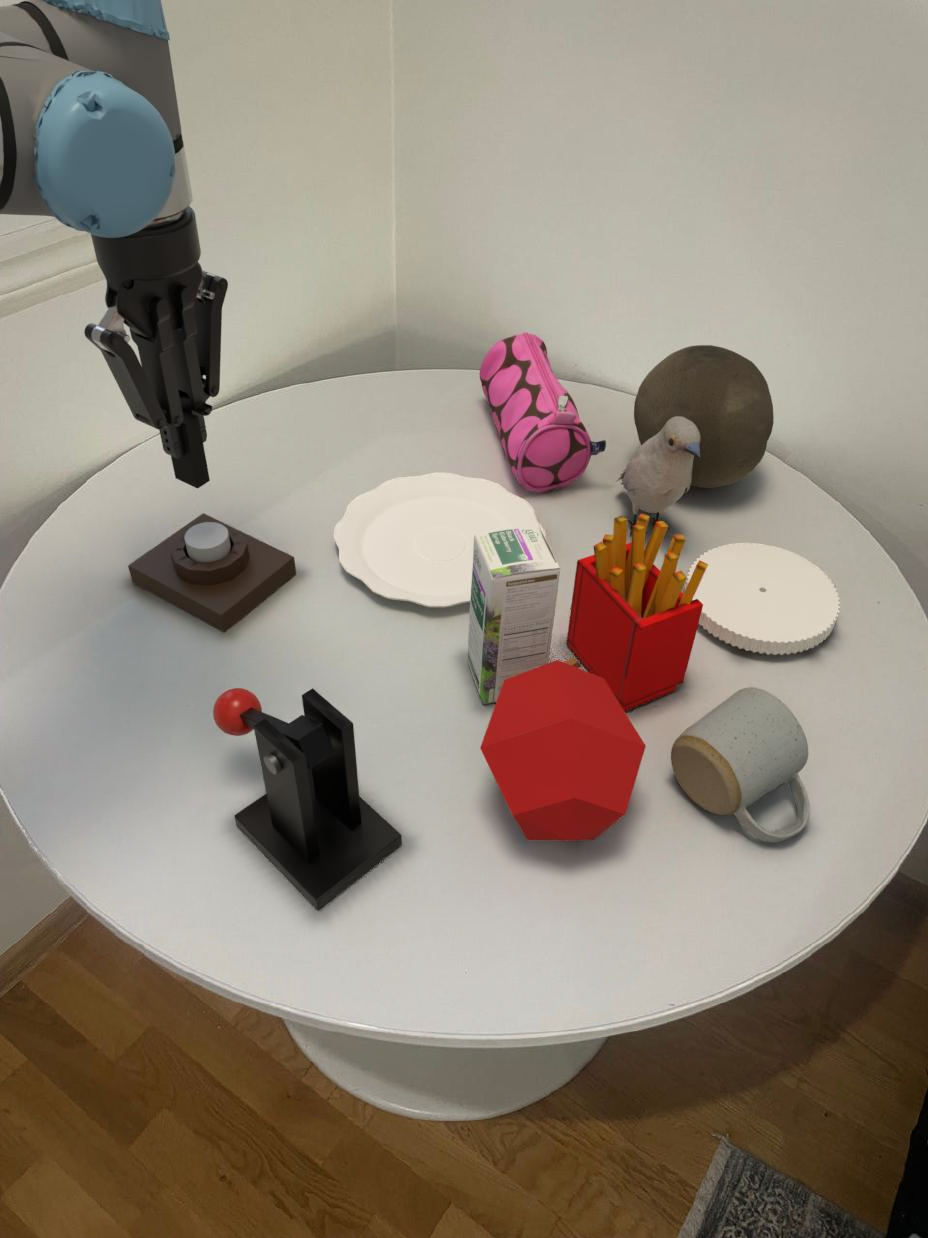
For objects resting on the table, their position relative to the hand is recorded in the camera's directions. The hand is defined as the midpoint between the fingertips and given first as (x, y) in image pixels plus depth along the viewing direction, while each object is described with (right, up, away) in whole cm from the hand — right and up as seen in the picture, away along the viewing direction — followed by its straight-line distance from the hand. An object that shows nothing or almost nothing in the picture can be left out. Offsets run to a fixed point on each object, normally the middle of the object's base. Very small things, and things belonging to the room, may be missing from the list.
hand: (192, 479), depth 88 cm
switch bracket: (+13, -29, -13) cm, 34 cm away
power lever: (+10, -22, -16) cm, 29 cm away
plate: (+22, -5, +13) cm, 25 cm away
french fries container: (+38, -17, +1) cm, 42 cm away
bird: (+43, -3, +15) cm, 46 cm away
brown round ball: (+49, +3, +22) cm, 54 cm away
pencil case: (+32, +8, +27) cm, 42 cm away
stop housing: (0, -8, +8) cm, 12 cm away
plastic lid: (+52, -12, +7) cm, 54 cm away
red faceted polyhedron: (+31, -27, -10) cm, 42 cm away
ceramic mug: (+46, -26, -9) cm, 54 cm away
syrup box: (+28, -18, 0) cm, 33 cm away
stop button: (0, -6, +6) cm, 8 cm away
